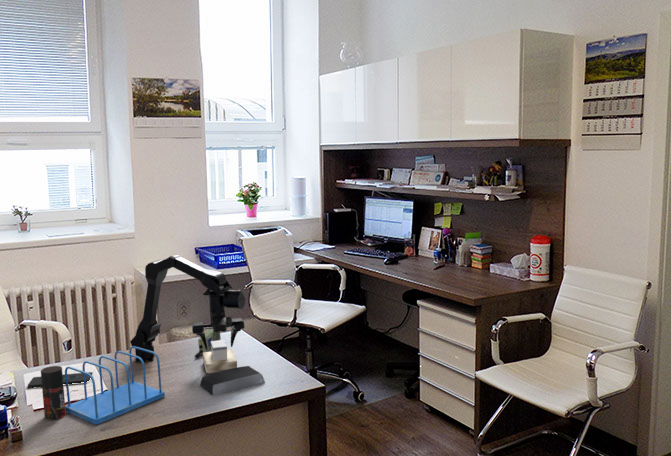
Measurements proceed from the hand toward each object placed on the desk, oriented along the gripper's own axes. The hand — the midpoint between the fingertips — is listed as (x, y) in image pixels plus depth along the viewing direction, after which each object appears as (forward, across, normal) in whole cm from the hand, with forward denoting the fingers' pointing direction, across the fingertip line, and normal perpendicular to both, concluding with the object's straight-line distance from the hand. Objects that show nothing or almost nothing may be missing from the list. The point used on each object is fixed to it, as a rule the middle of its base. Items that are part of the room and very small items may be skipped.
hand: (219, 348), depth 228 cm
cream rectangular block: (+7, 0, 0) cm, 7 cm away
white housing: (+3, 0, 0) cm, 3 cm away
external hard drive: (+8, +2, -18) cm, 20 cm away
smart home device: (+8, -55, +5) cm, 56 cm away
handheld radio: (+8, -2, +24) cm, 25 cm away
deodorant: (+8, -53, -26) cm, 59 cm away
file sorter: (+8, -35, -23) cm, 43 cm away
